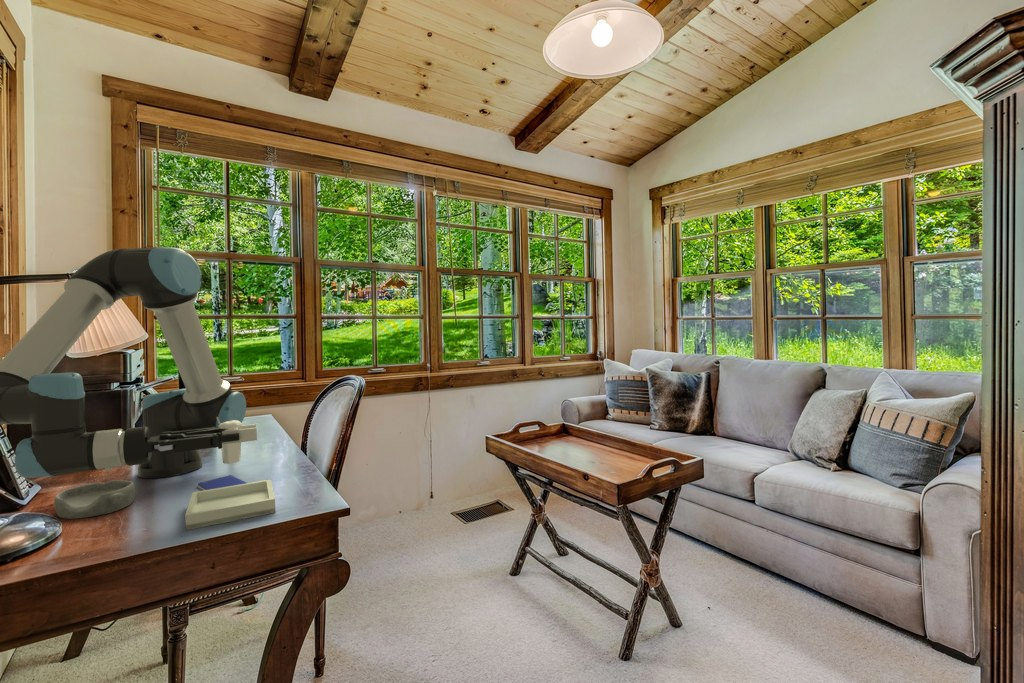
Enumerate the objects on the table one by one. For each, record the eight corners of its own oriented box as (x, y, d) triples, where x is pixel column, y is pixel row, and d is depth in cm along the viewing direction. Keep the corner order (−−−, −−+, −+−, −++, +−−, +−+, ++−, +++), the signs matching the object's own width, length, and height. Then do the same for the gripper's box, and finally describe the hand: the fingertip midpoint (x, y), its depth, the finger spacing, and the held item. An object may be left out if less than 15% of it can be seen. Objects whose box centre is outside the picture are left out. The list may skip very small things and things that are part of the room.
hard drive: (197, 482, 122) (214, 492, 114) (232, 474, 129) (250, 483, 121) (197, 489, 122) (214, 499, 114) (232, 480, 129) (251, 489, 121)
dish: (131, 511, 107) (130, 489, 107) (47, 527, 99) (45, 503, 99) (139, 493, 119) (138, 474, 119) (64, 506, 112) (63, 485, 111)
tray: (193, 505, 109) (192, 492, 109) (271, 491, 117) (270, 479, 117) (186, 530, 95) (185, 515, 95) (275, 512, 103) (274, 498, 103)
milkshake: (225, 459, 108) (224, 415, 108) (248, 459, 107) (246, 414, 107) (211, 464, 103) (209, 418, 103) (234, 464, 103) (232, 418, 103)
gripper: (134, 456, 104) (256, 441, 116) (116, 476, 89) (258, 456, 100) (132, 422, 104) (254, 410, 115) (114, 436, 89) (256, 421, 100)
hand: (256, 431), depth 108 cm, fingers closed on milkshake, 4 cm apart
